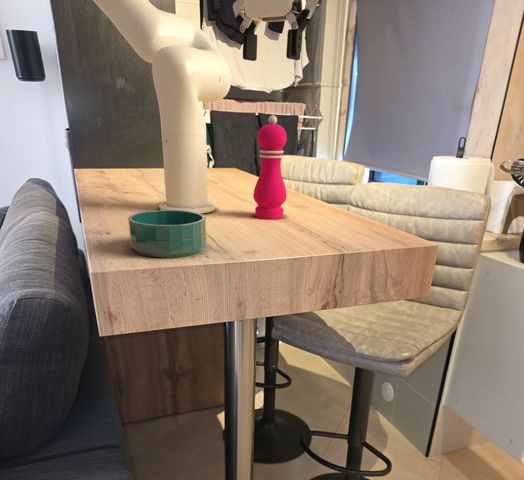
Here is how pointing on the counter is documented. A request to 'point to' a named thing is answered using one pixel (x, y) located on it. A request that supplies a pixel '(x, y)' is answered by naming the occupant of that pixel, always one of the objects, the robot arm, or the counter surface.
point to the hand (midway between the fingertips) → (270, 59)
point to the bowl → (167, 233)
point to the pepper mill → (270, 172)
